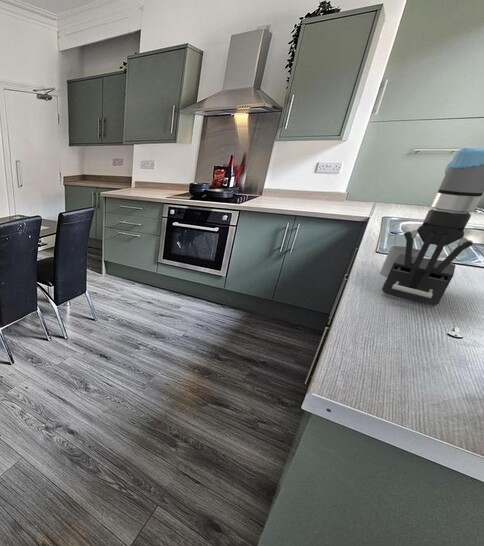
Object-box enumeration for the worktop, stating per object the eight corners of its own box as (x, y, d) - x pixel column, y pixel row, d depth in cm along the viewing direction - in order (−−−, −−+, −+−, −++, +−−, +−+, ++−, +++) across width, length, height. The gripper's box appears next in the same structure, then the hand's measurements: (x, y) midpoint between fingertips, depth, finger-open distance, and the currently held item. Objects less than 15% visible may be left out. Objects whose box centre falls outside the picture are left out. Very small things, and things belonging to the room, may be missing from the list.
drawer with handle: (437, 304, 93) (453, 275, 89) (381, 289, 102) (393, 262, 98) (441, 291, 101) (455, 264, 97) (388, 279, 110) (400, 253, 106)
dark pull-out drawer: (433, 312, 86) (446, 287, 83) (378, 297, 94) (389, 274, 91) (438, 294, 97) (450, 271, 94) (389, 282, 105) (398, 260, 102)
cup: (408, 282, 108) (421, 255, 104) (377, 274, 114) (388, 248, 110) (413, 276, 112) (426, 250, 108) (383, 269, 118) (394, 244, 115)
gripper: (489, 213, 79) (444, 295, 88) (417, 205, 88) (383, 280, 98) (489, 217, 75) (442, 303, 84) (413, 208, 84) (378, 286, 93)
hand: (410, 290), depth 91 cm, fingers closed
